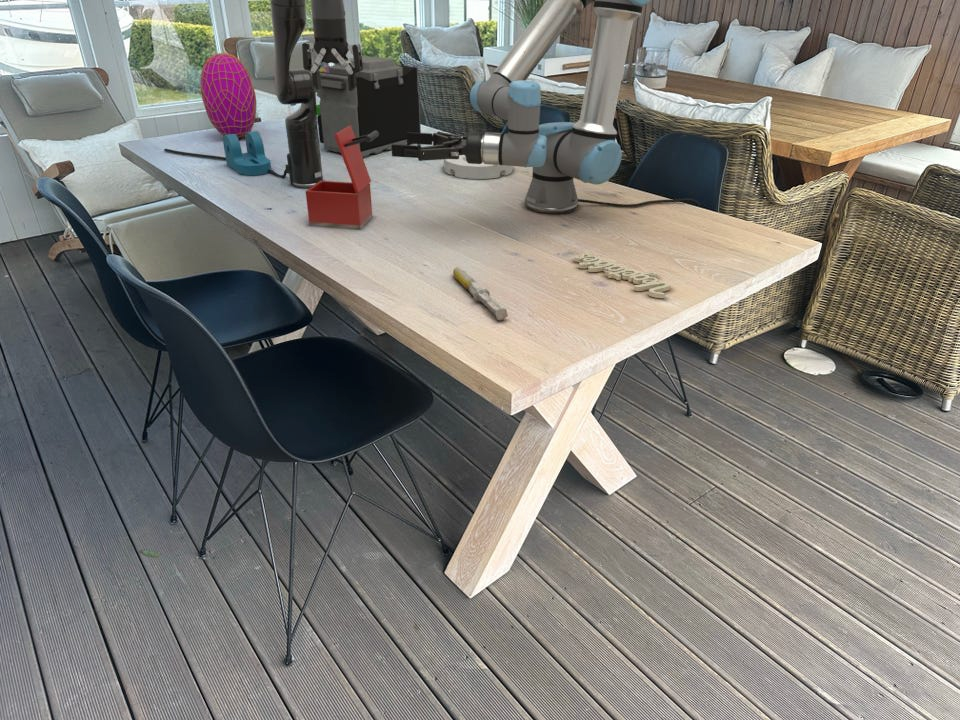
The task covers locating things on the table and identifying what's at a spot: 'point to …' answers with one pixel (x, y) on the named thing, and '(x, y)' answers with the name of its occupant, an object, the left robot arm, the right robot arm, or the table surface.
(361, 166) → the lid
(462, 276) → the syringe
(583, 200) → the right robot arm
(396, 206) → the table surface
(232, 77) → the decorative egg
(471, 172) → the ashtray
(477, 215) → the table surface
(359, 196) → the chest
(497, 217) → the table surface
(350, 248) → the table surface
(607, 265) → the decorative sign
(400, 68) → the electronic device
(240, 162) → the camera mount
